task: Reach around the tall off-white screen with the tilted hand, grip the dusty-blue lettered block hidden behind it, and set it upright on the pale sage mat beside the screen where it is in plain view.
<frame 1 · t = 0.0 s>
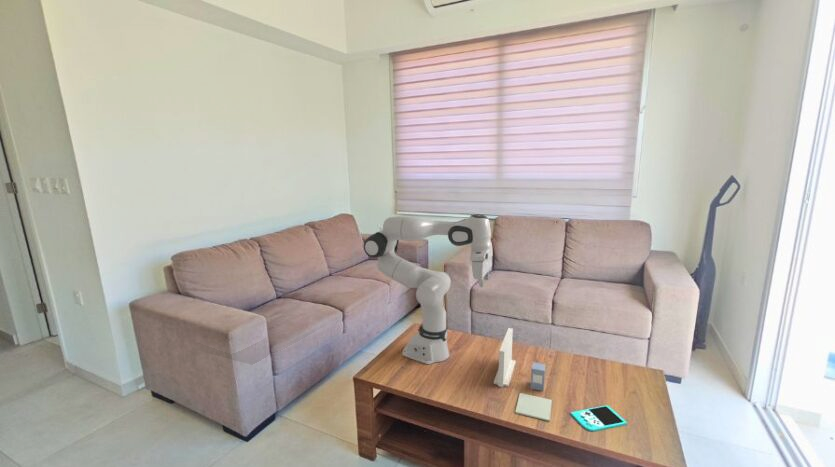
hand: (484, 283, 163), 39 cm above the table, tool pointing down, fingers open, 8 cm apart
screen: (505, 372, 164), on the table
handheld game console: (597, 420, 135), on the table
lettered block: (537, 386, 154), on the table
sage mat: (533, 407, 142), on the table
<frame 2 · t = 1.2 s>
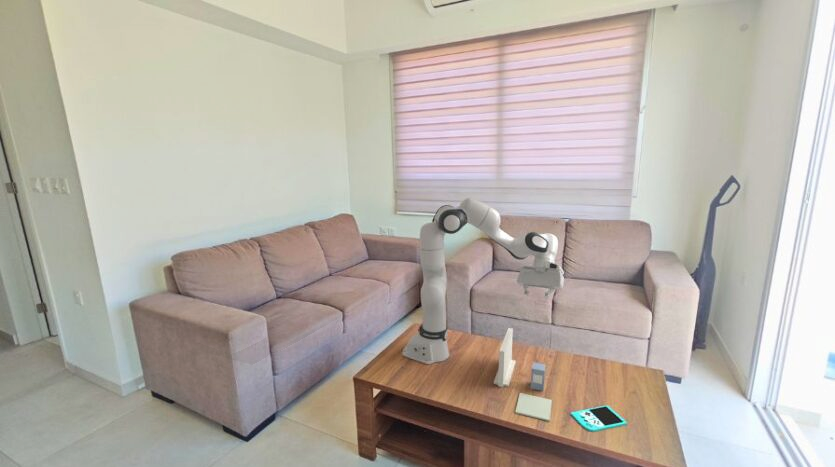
hand: (536, 295, 164), 33 cm above the table, tool tilted 40°, fingers open, 8 cm apart
nothing on the table moved.
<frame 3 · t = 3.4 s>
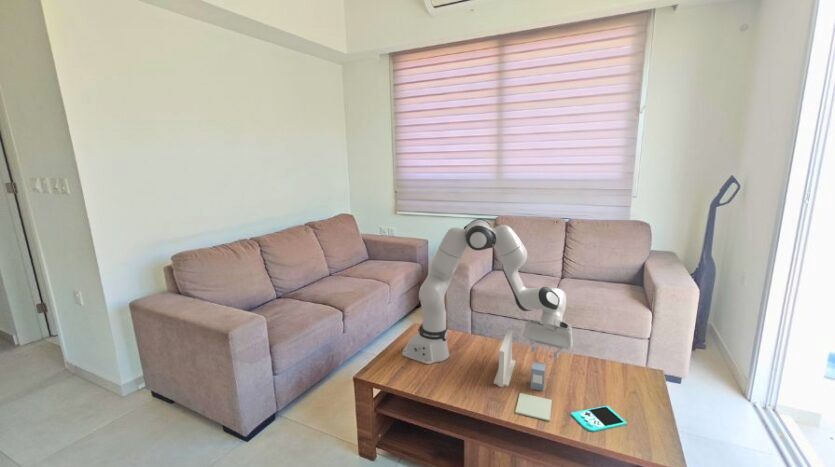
hand: (543, 354, 158), 11 cm above the table, tool tilted 45°, fingers open, 8 cm apart
nothing on the table moved.
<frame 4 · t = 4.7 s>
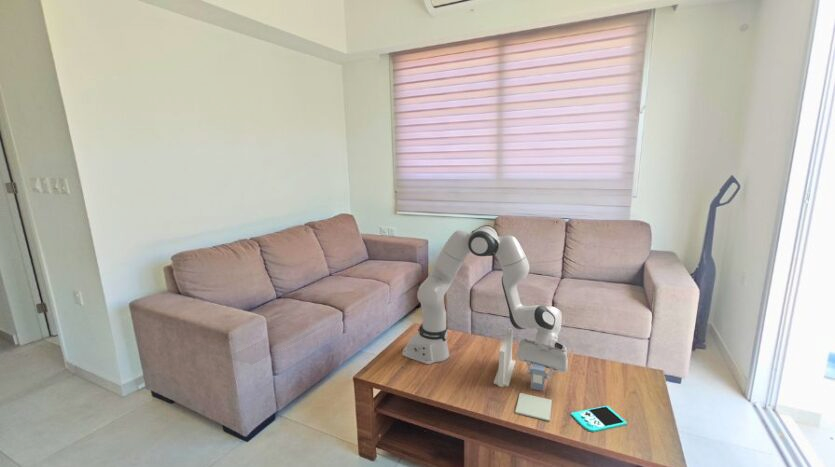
hand: (537, 376, 153), 5 cm above the table, tool tilted 45°, fingers closed on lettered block, 6 cm apart
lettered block: (537, 386, 154), on the table, touching gripper
everything else where it was.
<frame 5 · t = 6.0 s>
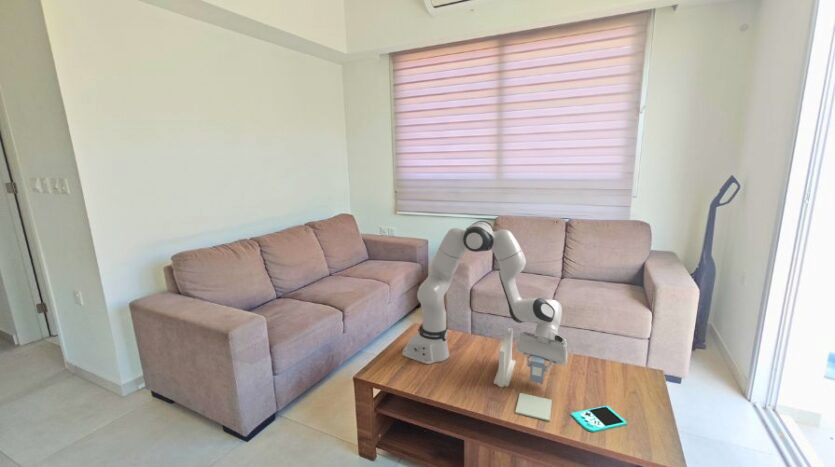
hand: (537, 368, 152), 8 cm above the table, tool tilted 45°, fingers closed on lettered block, 5 cm apart
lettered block: (536, 378, 154), point 3 cm above the table, touching gripper
everything else where it was.
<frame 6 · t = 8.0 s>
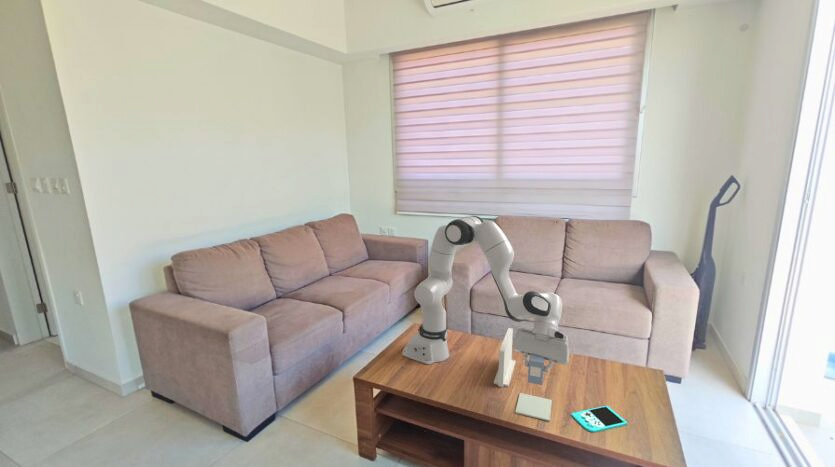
hand: (535, 368, 138), 16 cm above the table, tool tilted 45°, fingers closed on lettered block, 5 cm apart
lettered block: (535, 380, 139), point 11 cm above the table, touching gripper
everything else where it was.
when the fingers open (7 cm above the table, at t = 10.0 s): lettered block drops 1 cm, resting on sage mat.
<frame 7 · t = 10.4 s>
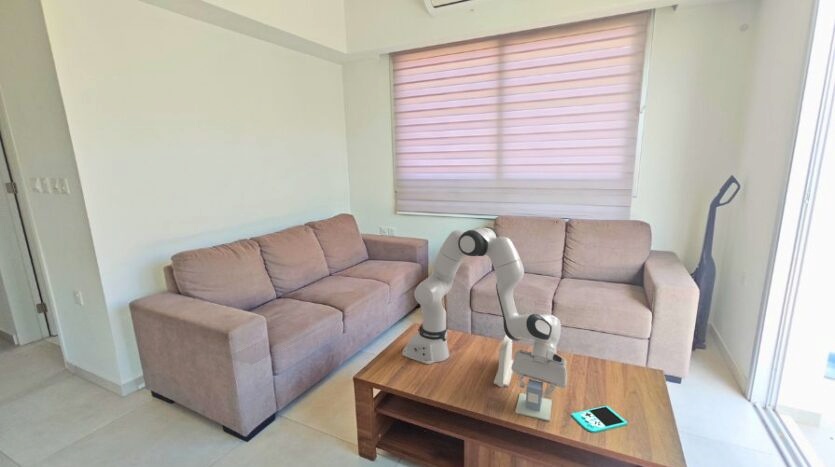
hand: (534, 391, 140), 7 cm above the table, tool tilted 45°, fingers open, 8 cm apart
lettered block: (533, 405, 141), point 1 cm above the table, touching sage mat
everything else where it was.
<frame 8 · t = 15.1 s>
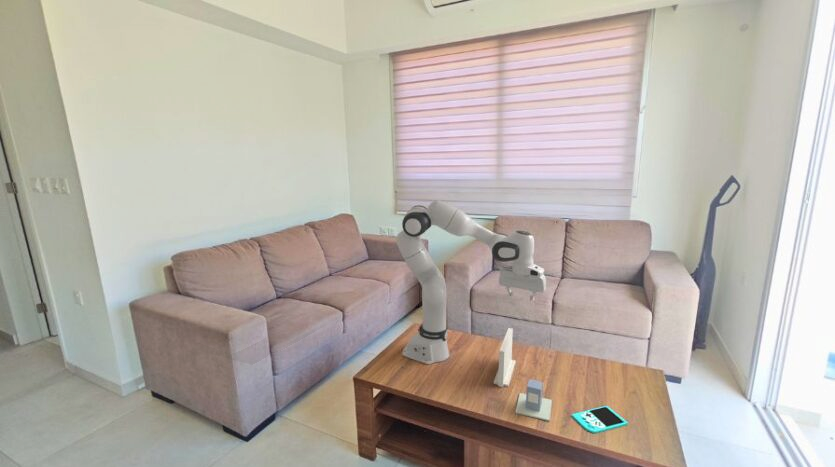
hand: (521, 298, 166), 31 cm above the table, tool pointing down, fingers open, 8 cm apart
nothing on the table moved.
at the end: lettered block inside the target area on the sage mat (0.1 cm from its centre), point 0.6 cm above the sage mat's base; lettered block tilted 0°; the gripper is holding nothing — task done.
